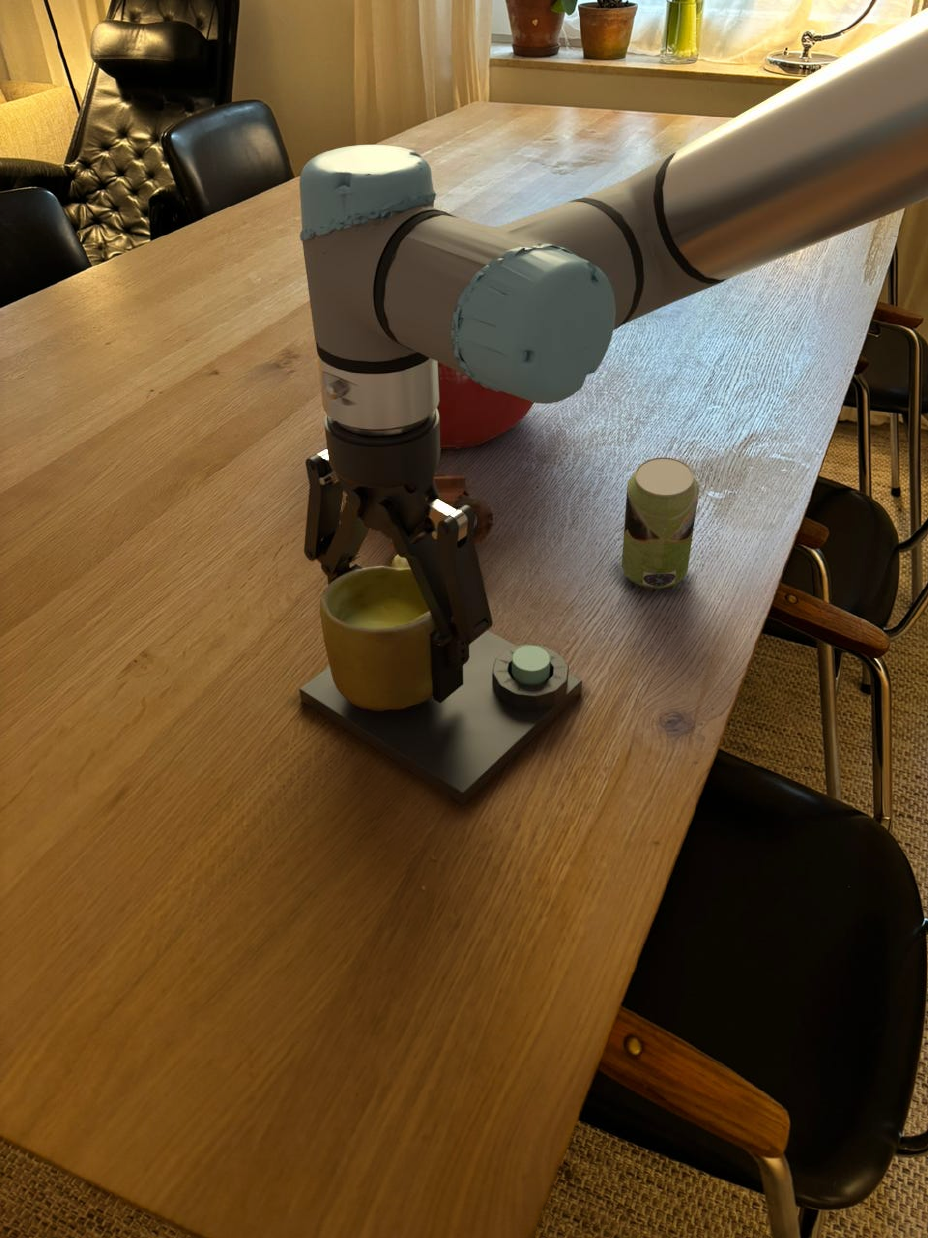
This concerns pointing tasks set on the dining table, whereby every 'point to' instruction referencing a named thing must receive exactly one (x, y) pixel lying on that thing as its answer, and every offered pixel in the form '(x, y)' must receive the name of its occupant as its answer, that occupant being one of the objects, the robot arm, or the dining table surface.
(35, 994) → the dining table surface
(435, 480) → the pottery mug
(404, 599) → the mug
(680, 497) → the beverage can
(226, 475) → the dining table surface
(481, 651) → the scale
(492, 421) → the mixing bowl
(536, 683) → the power button
